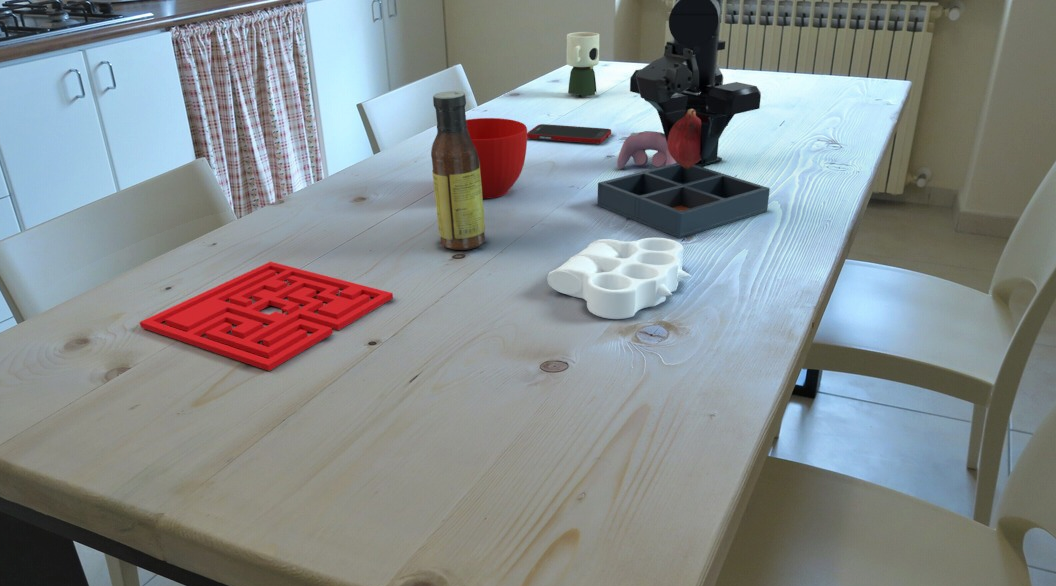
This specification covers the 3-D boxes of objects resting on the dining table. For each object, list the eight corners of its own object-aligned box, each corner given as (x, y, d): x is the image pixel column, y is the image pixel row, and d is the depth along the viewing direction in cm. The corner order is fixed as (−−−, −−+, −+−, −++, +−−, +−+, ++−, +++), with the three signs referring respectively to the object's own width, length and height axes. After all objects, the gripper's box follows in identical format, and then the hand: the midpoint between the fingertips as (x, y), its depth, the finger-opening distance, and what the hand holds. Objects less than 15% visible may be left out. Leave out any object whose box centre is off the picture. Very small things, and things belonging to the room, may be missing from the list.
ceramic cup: (409, 200, 136) (404, 135, 131) (486, 174, 147) (483, 113, 142) (468, 218, 128) (465, 150, 123) (545, 189, 139) (544, 126, 134)
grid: (597, 205, 132) (597, 182, 130) (681, 182, 140) (683, 161, 139) (679, 238, 119) (681, 213, 118) (767, 211, 128) (770, 188, 126)
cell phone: (601, 144, 161) (601, 139, 160) (525, 138, 165) (525, 133, 165) (612, 134, 167) (612, 128, 166) (539, 128, 172) (539, 123, 171)
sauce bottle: (492, 238, 121) (486, 89, 112) (475, 254, 116) (468, 100, 106) (448, 233, 123) (438, 87, 113) (429, 249, 118) (418, 98, 108)
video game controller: (677, 178, 147) (685, 136, 147) (671, 173, 143) (679, 130, 143) (621, 172, 151) (628, 131, 151) (613, 167, 147) (621, 125, 146)
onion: (708, 175, 118) (713, 115, 114) (664, 173, 119) (668, 114, 115) (708, 163, 123) (713, 104, 119) (666, 161, 124) (670, 103, 120)
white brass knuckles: (602, 250, 116) (708, 271, 109) (533, 301, 103) (650, 329, 96) (603, 226, 114) (711, 246, 108) (533, 275, 101) (651, 301, 94)
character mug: (590, 102, 191) (592, 38, 185) (559, 100, 194) (559, 37, 187) (604, 91, 200) (605, 30, 194) (574, 89, 202) (574, 29, 196)
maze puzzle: (269, 370, 90) (268, 365, 89) (140, 327, 99) (139, 322, 99) (393, 298, 104) (392, 293, 104) (271, 266, 114) (270, 261, 113)
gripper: (600, 31, 116) (598, 149, 123) (704, 50, 102) (694, 181, 110) (663, 22, 121) (657, 136, 129) (770, 39, 108) (756, 165, 115)
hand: (687, 153), depth 120 cm, fingers closed on onion, 6 cm apart
